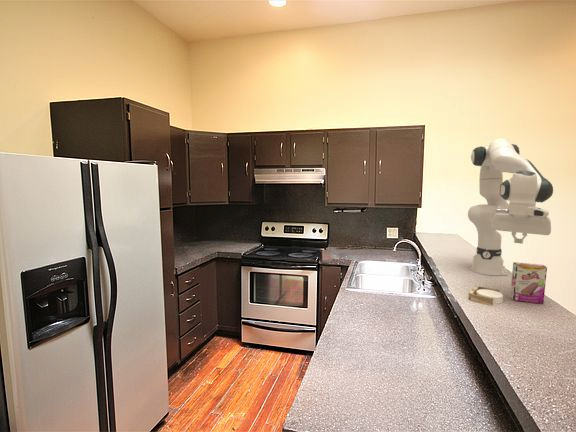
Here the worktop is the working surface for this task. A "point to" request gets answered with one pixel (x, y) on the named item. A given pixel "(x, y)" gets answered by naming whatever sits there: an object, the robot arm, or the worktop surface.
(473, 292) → the holder
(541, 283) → the candy bar box
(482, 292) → the coaster
